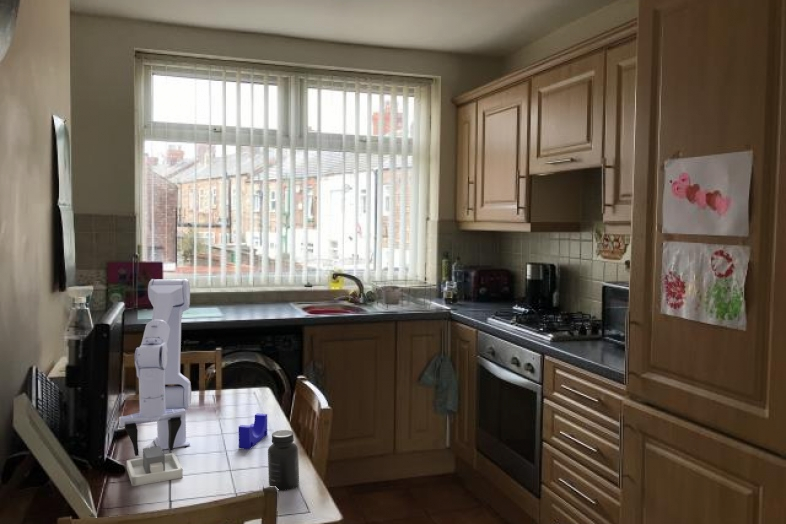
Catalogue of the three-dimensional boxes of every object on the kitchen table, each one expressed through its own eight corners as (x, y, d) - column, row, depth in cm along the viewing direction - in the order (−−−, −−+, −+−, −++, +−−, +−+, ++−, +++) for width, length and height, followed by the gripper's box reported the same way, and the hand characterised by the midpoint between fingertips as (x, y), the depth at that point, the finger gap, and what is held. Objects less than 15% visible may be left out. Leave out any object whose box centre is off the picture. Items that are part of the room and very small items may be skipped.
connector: (143, 466, 159) (142, 448, 159) (160, 463, 161) (160, 446, 161) (148, 480, 151) (147, 461, 150) (166, 477, 153) (166, 458, 152)
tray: (126, 468, 159) (126, 460, 159) (174, 460, 164) (174, 452, 164) (132, 486, 149) (131, 477, 149) (182, 477, 154) (182, 469, 154)
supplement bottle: (285, 476, 154) (284, 426, 153) (305, 484, 150) (304, 432, 149) (262, 486, 149) (261, 433, 148) (282, 494, 144) (281, 440, 144)
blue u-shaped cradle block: (252, 434, 185) (251, 413, 185) (267, 435, 184) (267, 414, 184) (233, 448, 173) (233, 426, 173) (249, 449, 173) (249, 427, 172)
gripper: (120, 403, 148) (122, 462, 149) (187, 395, 155) (188, 452, 156) (117, 395, 155) (119, 452, 156) (181, 388, 161) (183, 442, 162)
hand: (153, 451), depth 156 cm, fingers open, 7 cm apart
